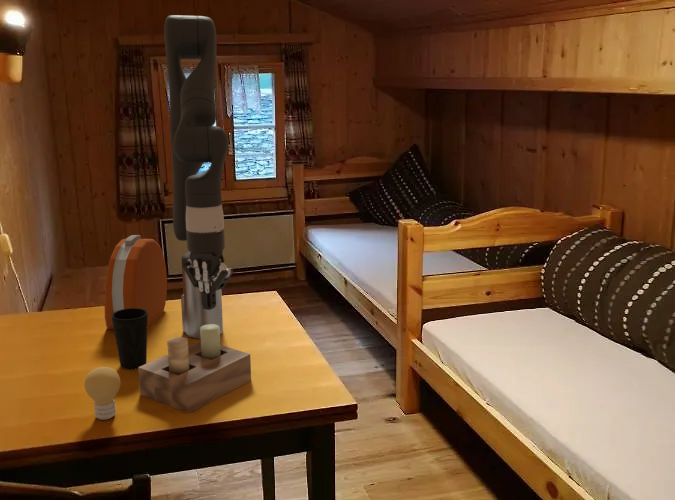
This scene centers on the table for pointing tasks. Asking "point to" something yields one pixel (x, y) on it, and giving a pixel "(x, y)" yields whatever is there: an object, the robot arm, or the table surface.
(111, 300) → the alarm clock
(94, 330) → the table surface
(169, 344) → the peg birch
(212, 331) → the peg sage
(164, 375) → the socket block
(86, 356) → the table surface
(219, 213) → the robot arm
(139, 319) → the cup
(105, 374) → the light bulb
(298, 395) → the table surface
